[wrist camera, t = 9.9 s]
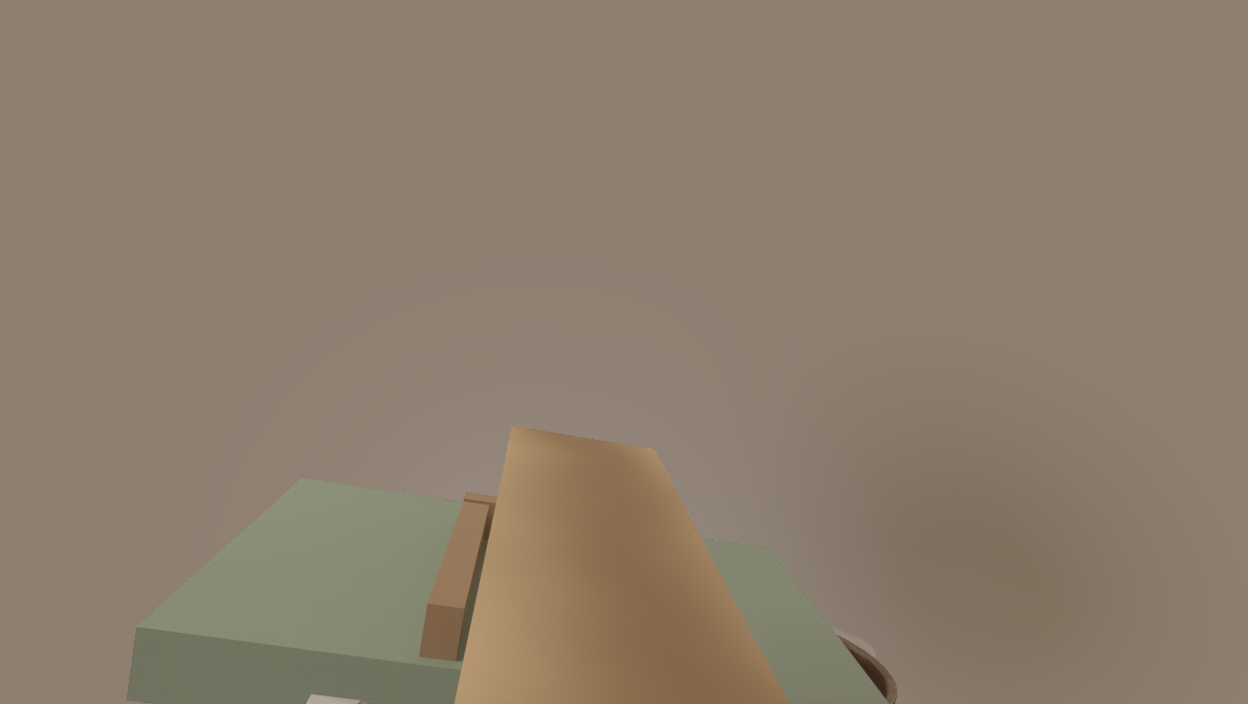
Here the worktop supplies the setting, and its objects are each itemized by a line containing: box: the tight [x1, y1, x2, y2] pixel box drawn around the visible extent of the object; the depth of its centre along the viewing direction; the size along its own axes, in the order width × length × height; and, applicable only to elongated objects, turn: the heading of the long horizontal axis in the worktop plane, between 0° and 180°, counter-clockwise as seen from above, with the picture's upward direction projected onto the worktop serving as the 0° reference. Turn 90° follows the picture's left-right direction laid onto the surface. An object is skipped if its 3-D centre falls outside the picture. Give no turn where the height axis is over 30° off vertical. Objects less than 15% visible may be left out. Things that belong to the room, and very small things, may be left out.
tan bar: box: [454, 426, 789, 704], centre depth 15 cm, size 4×18×3 cm, turn 5°
